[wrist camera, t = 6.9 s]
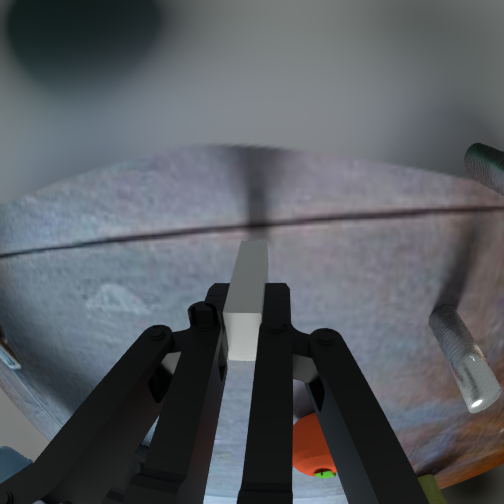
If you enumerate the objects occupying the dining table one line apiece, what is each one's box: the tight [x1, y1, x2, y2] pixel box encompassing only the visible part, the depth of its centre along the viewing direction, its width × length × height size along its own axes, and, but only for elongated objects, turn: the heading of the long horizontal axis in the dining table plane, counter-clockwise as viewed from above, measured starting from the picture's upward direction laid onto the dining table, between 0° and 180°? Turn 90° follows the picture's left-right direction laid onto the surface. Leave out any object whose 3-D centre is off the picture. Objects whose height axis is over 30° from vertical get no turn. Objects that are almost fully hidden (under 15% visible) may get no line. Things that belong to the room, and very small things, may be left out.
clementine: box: [293, 413, 337, 478], centre depth 25 cm, size 8×7×7 cm
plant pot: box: [417, 474, 447, 504], centre depth 36 cm, size 9×9×9 cm
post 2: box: [429, 305, 502, 413], centre depth 17 cm, size 3×3×9 cm
